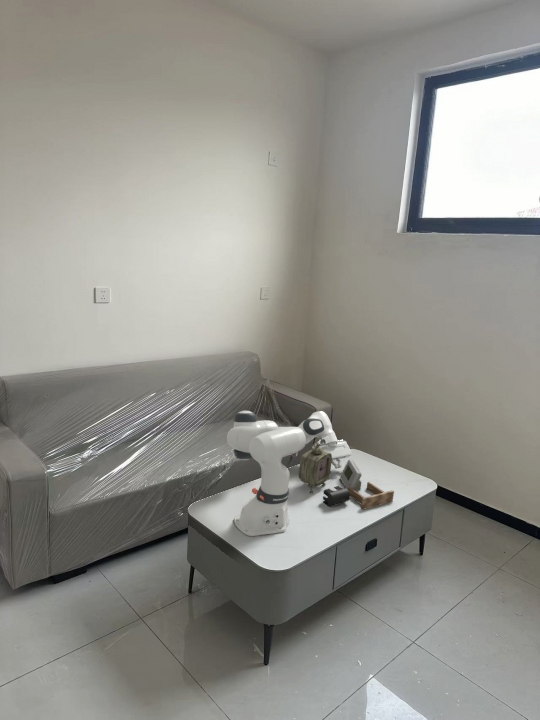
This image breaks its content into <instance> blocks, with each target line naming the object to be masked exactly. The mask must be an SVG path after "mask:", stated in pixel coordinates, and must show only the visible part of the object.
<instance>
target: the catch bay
mask: <svg viewBox="0 0 540 720" xmlns="http://www.w3.org/2000/svg"><path fill="white" fill-rule="evenodd" d="M366 483H367V484H366V490H368V491H369V492H370V493H372V494H373V495H368V496H364V495H362V494H361V493H359V492H357V490H354V489H352V488H351V487H348V488H347V490H348V491H349V493H350V498H351V499H353V500H355V501H356V502H357V503H359V504H360V505H361V506H360V509H361V510H362V509H363V510H366V509H369V508H373V506H374V507H377V506H381V505H385V504H388V503H391V502H393V501H394V494H395V491H394V490H389V491H383V489H381V488H380V487H378V486H376V485H374V484H373V483H371V482H370V481H368V482H366ZM365 508H366V509H365Z"/></svg>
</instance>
